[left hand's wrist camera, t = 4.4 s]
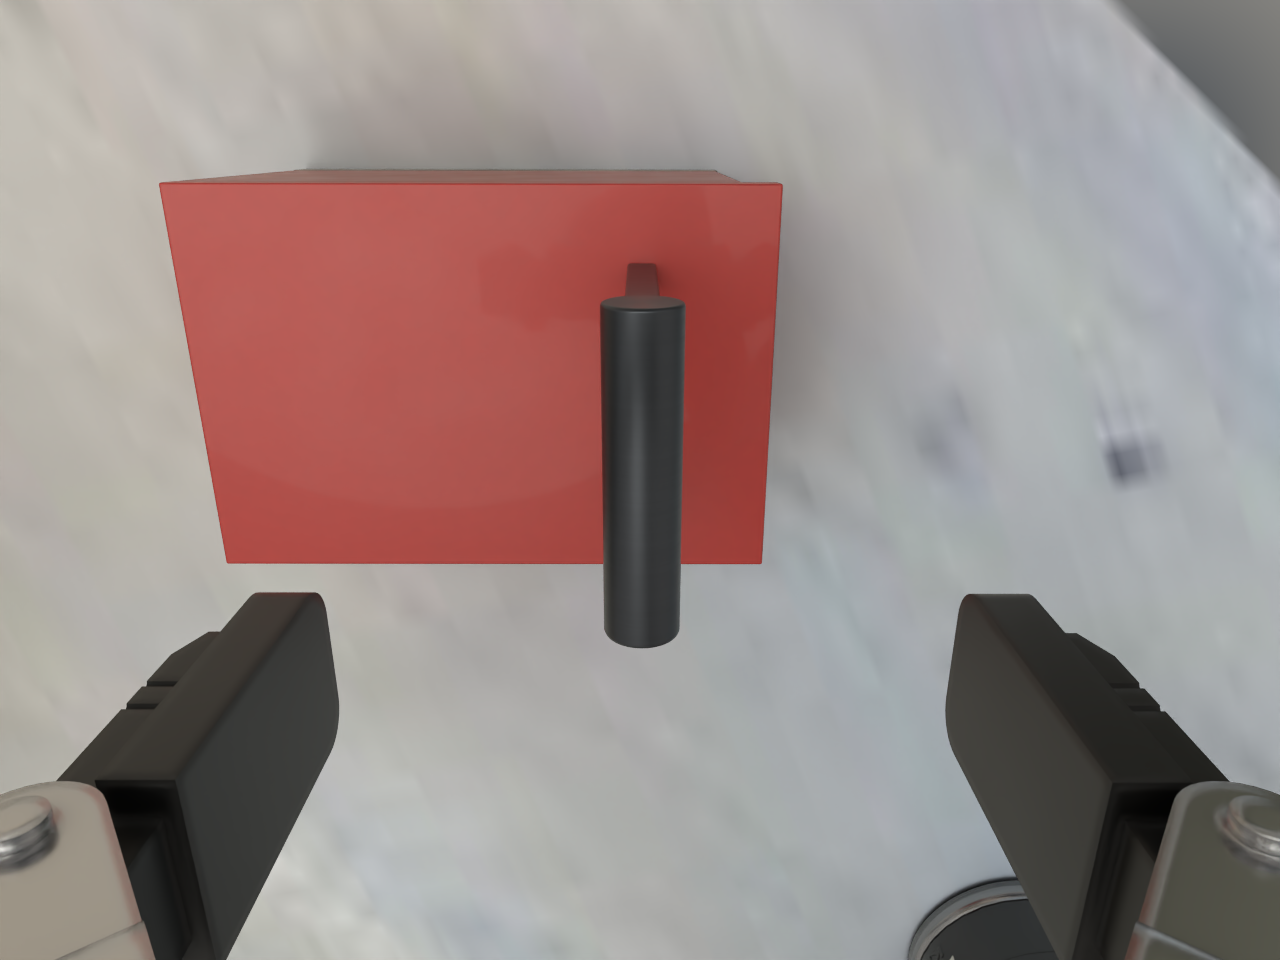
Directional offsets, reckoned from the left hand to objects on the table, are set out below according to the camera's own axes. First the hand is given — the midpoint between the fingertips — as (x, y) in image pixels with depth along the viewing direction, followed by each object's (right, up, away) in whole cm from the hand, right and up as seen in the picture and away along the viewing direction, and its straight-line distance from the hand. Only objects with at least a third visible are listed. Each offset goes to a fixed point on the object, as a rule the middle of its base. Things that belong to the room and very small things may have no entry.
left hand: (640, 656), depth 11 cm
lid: (-4, +5, +13) cm, 14 cm away
